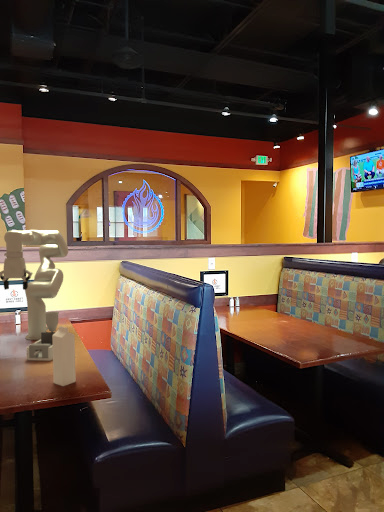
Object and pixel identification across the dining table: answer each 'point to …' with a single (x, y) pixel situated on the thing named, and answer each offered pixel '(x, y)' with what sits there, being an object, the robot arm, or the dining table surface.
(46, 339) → the pusher
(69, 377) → the milk
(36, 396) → the dining table surface
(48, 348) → the grey bracket
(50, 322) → the chalice
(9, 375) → the dining table surface
